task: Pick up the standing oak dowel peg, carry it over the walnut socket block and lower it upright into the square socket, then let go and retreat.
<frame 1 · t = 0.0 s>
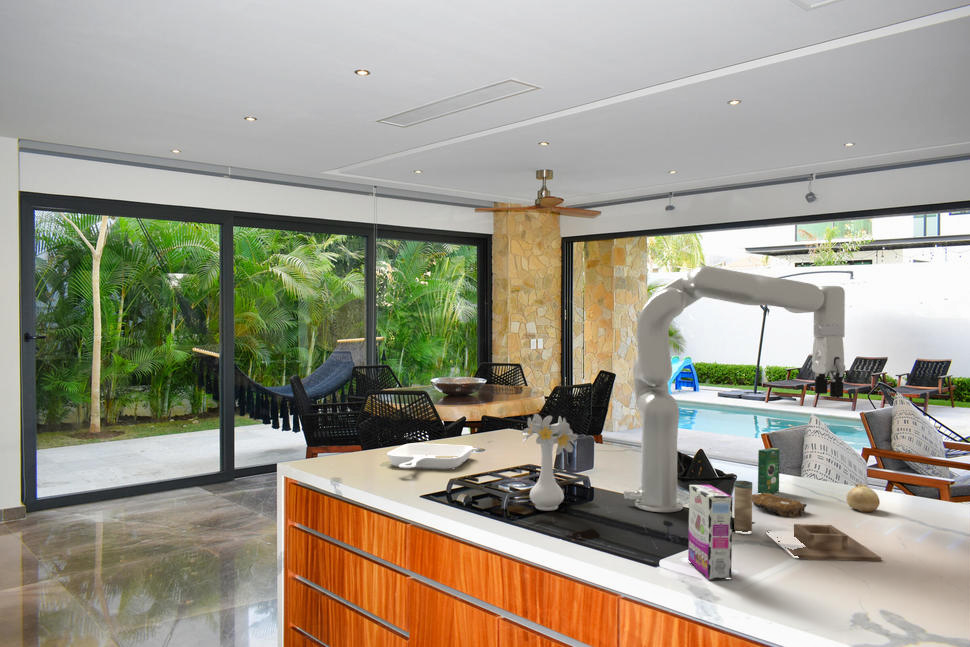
hand: (828, 395, 189), 31 cm above the kitchen island, tool pointing down, fingers open, 9 cm apart
socket block: (819, 546, 158), on the kitchen island
pan: (424, 467, 245), on the kitchen island
onion: (862, 511, 190), on the kitchen island
flower vase: (549, 509, 190), on the kitchen island
decorative rock: (774, 511, 190), on the kitchen island
peg: (743, 532, 169), on the kitchen island
candy bar box: (709, 571, 142), on the kitchen island
coffee box: (768, 493, 210), on the kitchen island
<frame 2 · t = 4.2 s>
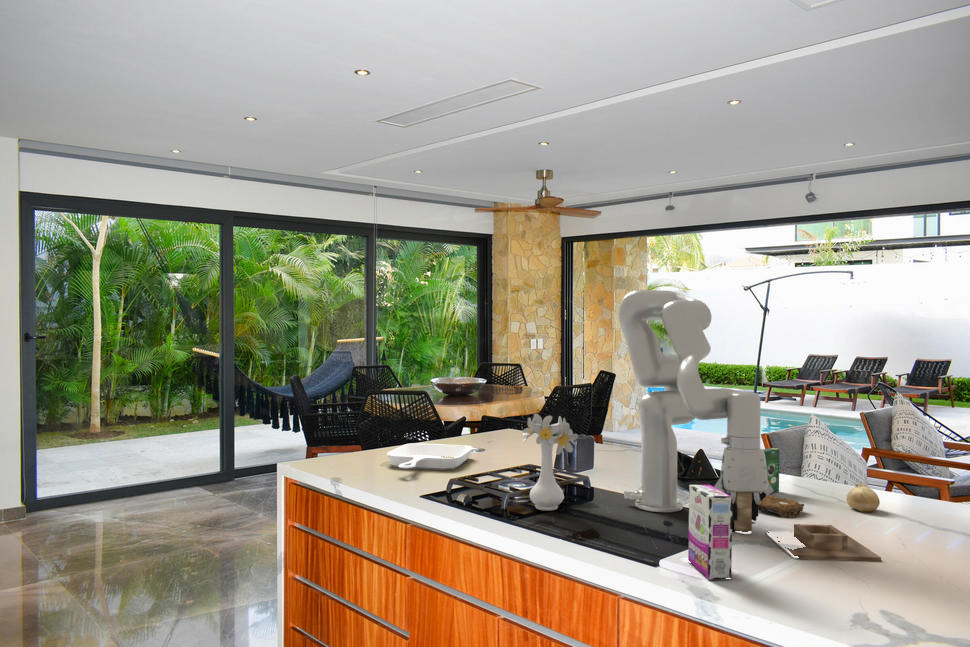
hand: (743, 518, 169), 3 cm above the kitchen island, tool pointing down, fingers closed on peg, 4 cm apart
peg: (743, 532, 169), on the kitchen island, touching gripper
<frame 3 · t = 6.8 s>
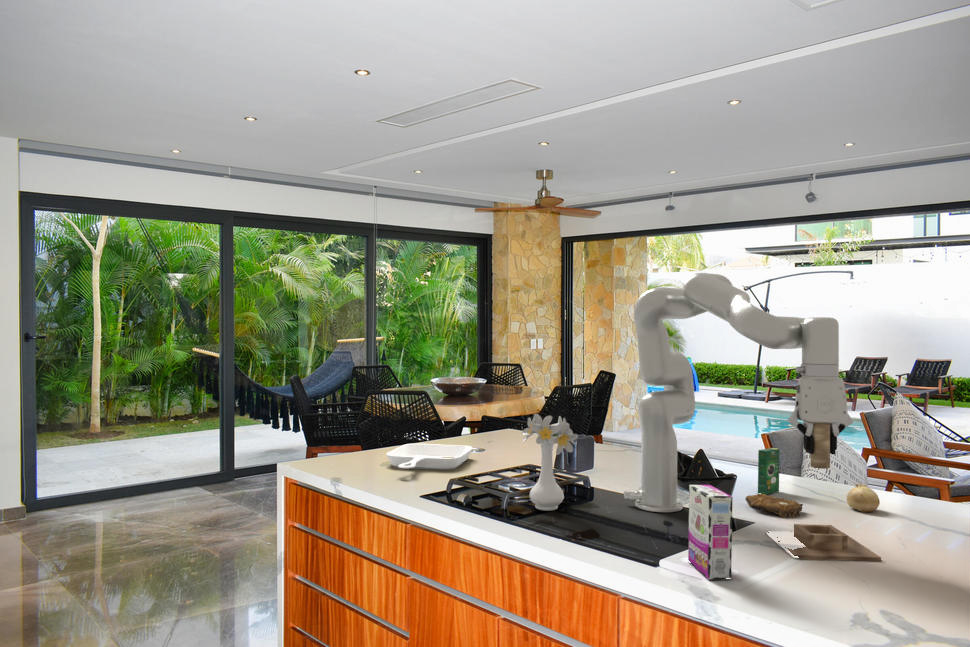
hand: (820, 452, 158), 21 cm above the kitchen island, tool pointing down, fingers closed on peg, 4 cm apart
peg: (820, 466, 158), point 18 cm above the kitchen island, touching gripper
when the fingers open (5 cm above the kitchen island, at t = 9.2 s): peg stays where it is, resting on socket block.
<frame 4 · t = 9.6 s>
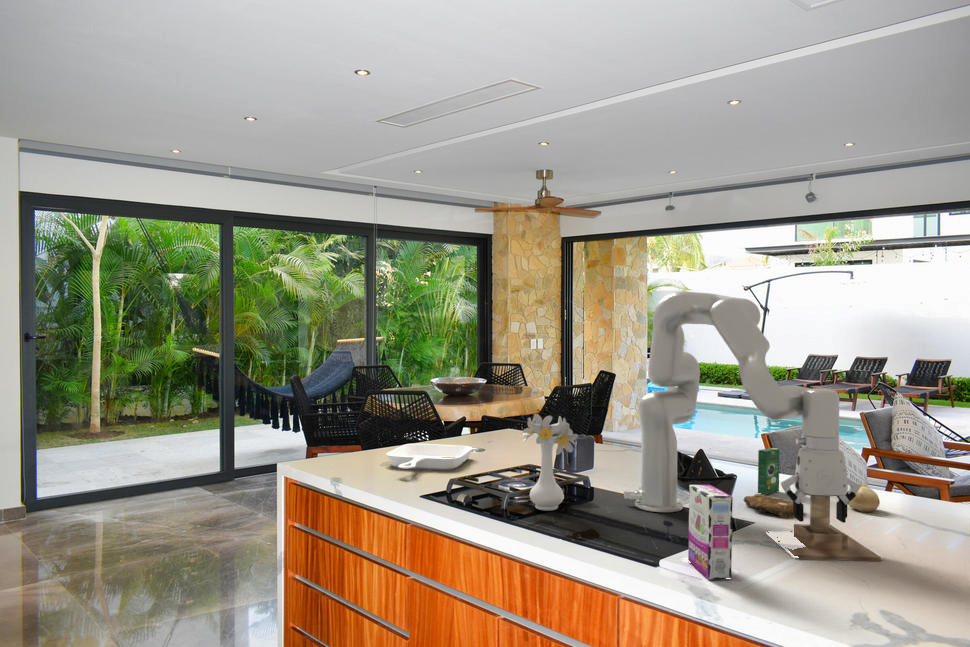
hand: (820, 520, 158), 6 cm above the kitchen island, tool pointing down, fingers open, 8 cm apart
peg: (819, 543, 158), point 1 cm above the kitchen island, touching socket block
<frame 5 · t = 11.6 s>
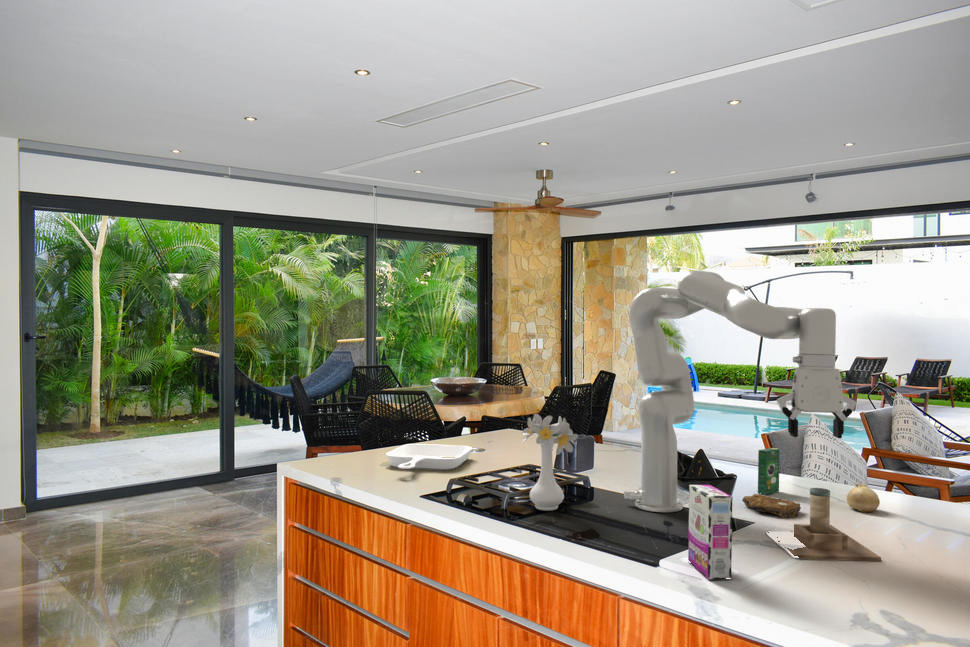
hand: (815, 436, 161), 24 cm above the kitchen island, tool pointing down, fingers open, 9 cm apart
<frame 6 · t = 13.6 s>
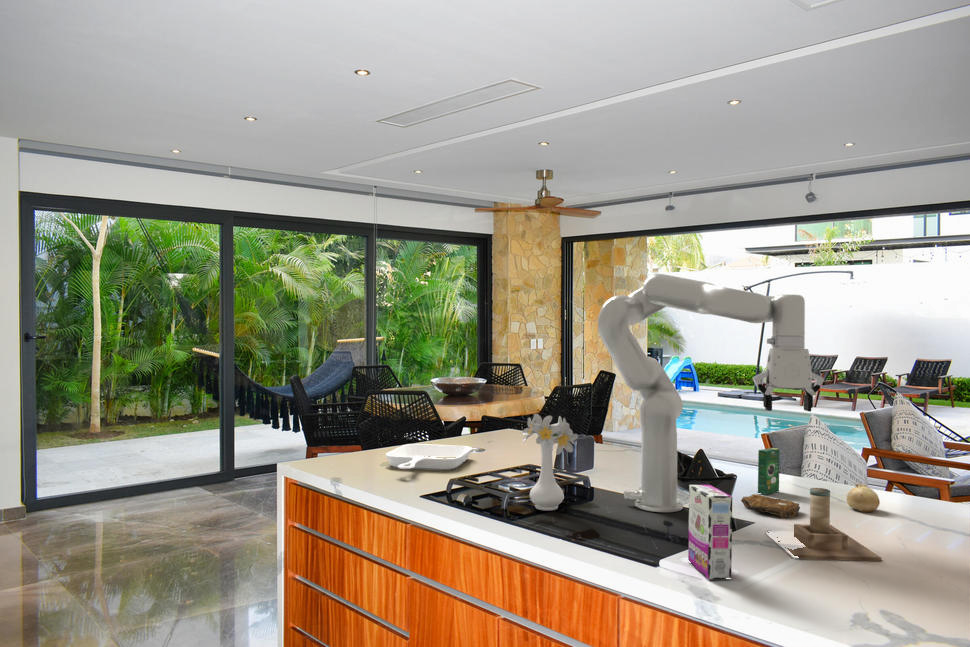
hand: (787, 410, 178), 28 cm above the kitchen island, tool pointing down, fingers open, 9 cm apart
at the end: peg 0.1 cm off-centre on the socket block, point 0.8 cm above the socket block's base; peg tilted 0°; the gripper is holding nothing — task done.
